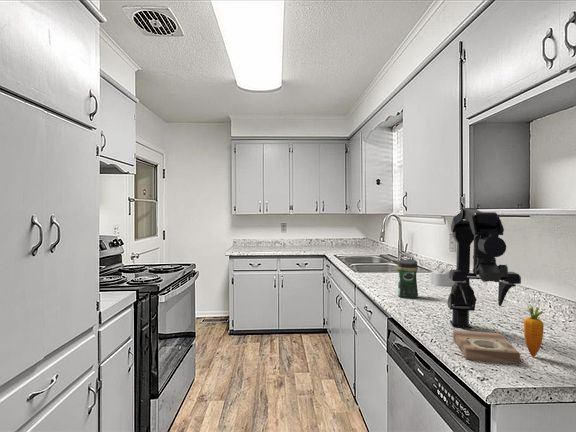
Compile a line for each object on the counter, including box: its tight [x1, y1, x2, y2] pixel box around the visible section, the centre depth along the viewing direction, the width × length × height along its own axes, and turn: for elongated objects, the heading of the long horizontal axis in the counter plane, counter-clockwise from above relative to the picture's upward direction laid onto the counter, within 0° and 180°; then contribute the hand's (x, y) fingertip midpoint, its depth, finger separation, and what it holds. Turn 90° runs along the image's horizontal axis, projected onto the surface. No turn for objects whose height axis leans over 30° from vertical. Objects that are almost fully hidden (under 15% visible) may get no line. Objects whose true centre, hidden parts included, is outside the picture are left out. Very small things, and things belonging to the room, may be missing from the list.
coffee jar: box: [397, 259, 419, 299], centre depth 190 cm, size 10×8×19 cm
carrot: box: [523, 306, 545, 358], centre depth 113 cm, size 5×5×15 cm
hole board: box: [452, 329, 521, 365], centre depth 118 cm, size 18×14×3 cm
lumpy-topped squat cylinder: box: [430, 268, 455, 287], centre depth 222 cm, size 10×13×9 cm
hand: (483, 304), depth 115 cm, fingers open, 9 cm apart
